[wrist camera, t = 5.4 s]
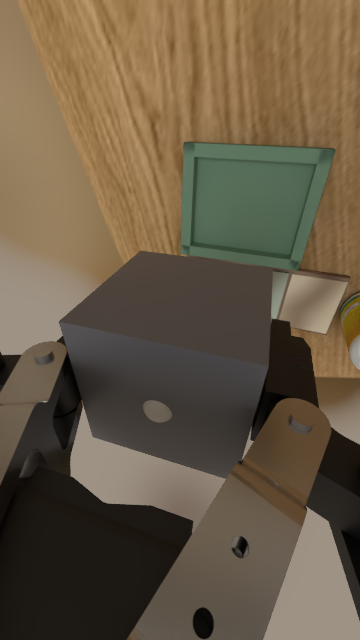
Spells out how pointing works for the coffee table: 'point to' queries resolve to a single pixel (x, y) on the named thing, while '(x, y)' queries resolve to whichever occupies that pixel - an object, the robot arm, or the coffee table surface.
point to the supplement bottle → (352, 327)
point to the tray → (251, 201)
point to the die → (174, 357)
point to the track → (304, 296)
